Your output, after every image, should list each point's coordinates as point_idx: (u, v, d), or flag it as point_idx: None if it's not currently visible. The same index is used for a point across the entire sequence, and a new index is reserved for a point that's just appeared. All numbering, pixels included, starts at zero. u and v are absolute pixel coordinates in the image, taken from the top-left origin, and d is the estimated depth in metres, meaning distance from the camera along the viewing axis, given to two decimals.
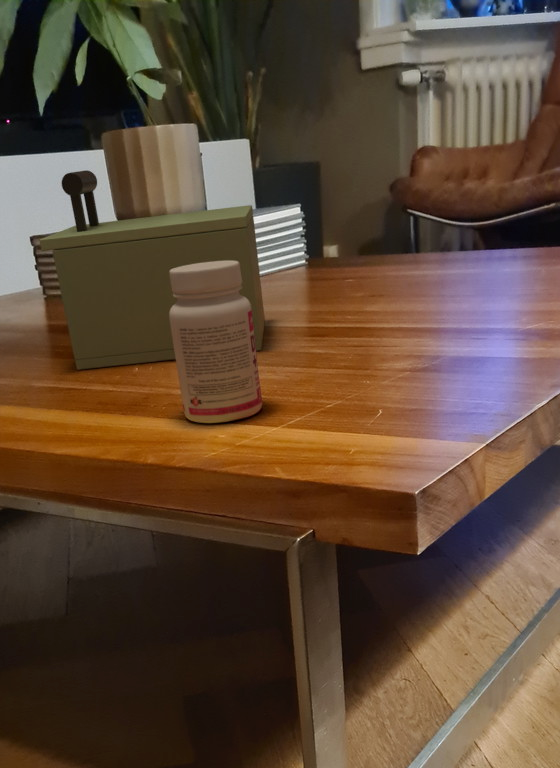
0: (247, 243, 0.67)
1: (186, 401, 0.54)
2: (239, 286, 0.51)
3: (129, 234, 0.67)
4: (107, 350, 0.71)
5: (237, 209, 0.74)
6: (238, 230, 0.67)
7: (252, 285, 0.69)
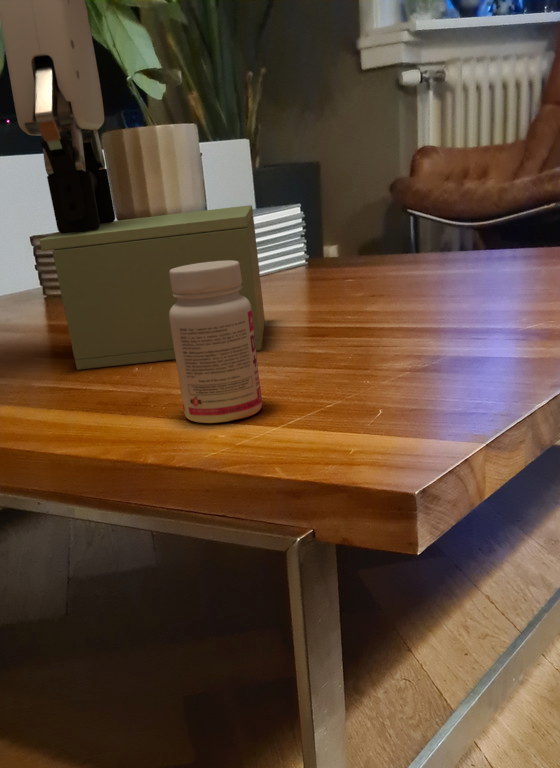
0: (247, 243, 0.67)
1: (186, 401, 0.54)
2: (239, 286, 0.51)
3: (129, 234, 0.67)
4: (107, 350, 0.71)
5: (237, 209, 0.74)
6: (238, 230, 0.67)
7: (252, 285, 0.69)
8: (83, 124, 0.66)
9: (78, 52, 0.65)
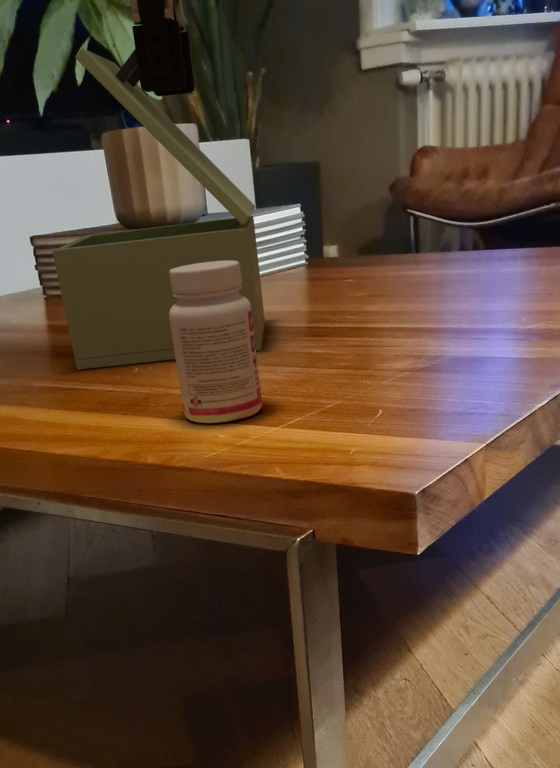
0: (247, 243, 0.67)
1: (186, 401, 0.54)
2: (239, 286, 0.51)
3: (155, 128, 0.64)
4: (107, 350, 0.71)
5: (244, 199, 0.74)
6: (238, 230, 0.67)
7: (252, 285, 0.69)
8: None
9: None
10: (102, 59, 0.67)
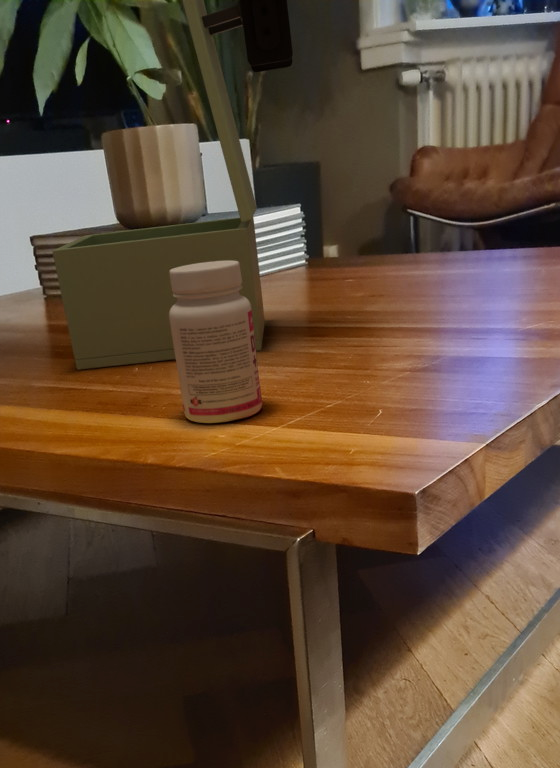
0: (247, 243, 0.67)
1: (186, 401, 0.54)
2: (239, 286, 0.51)
3: (212, 89, 0.63)
4: (107, 350, 0.71)
5: (252, 198, 0.74)
6: (238, 230, 0.67)
7: (252, 285, 0.69)
8: None
9: None
10: None
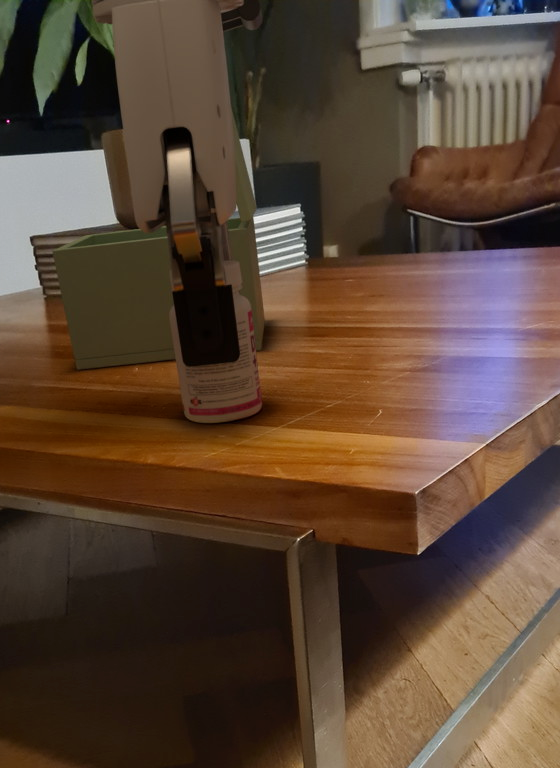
0: (247, 243, 0.67)
1: (186, 401, 0.54)
2: (239, 286, 0.51)
3: None
4: (107, 350, 0.71)
5: (252, 198, 0.74)
6: (238, 230, 0.67)
7: (252, 285, 0.69)
8: (225, 220, 0.47)
9: (224, 121, 0.45)
10: None
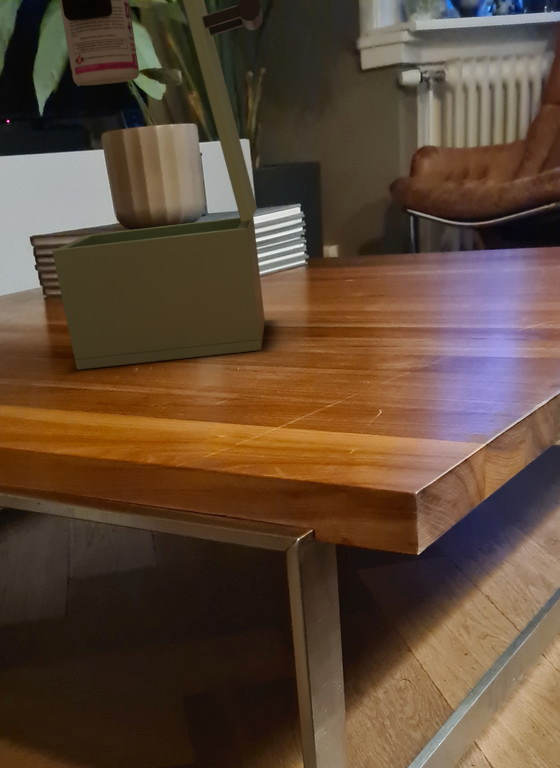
0: (247, 243, 0.67)
1: (72, 63, 0.64)
2: None
3: (212, 89, 0.63)
4: (107, 350, 0.71)
5: (252, 198, 0.74)
6: (238, 230, 0.67)
7: (252, 285, 0.69)
8: None
9: None
10: None
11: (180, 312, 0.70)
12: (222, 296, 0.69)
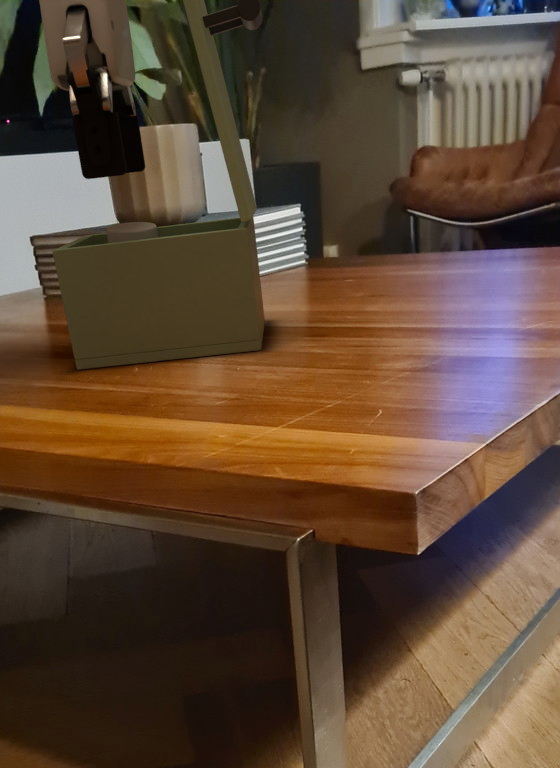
0: (247, 243, 0.67)
1: None
2: None
3: (212, 89, 0.63)
4: (107, 350, 0.71)
5: (252, 198, 0.74)
6: (238, 230, 0.67)
7: (252, 285, 0.69)
8: (117, 78, 0.65)
9: (113, 3, 0.63)
10: None
11: (180, 312, 0.70)
12: (222, 296, 0.69)
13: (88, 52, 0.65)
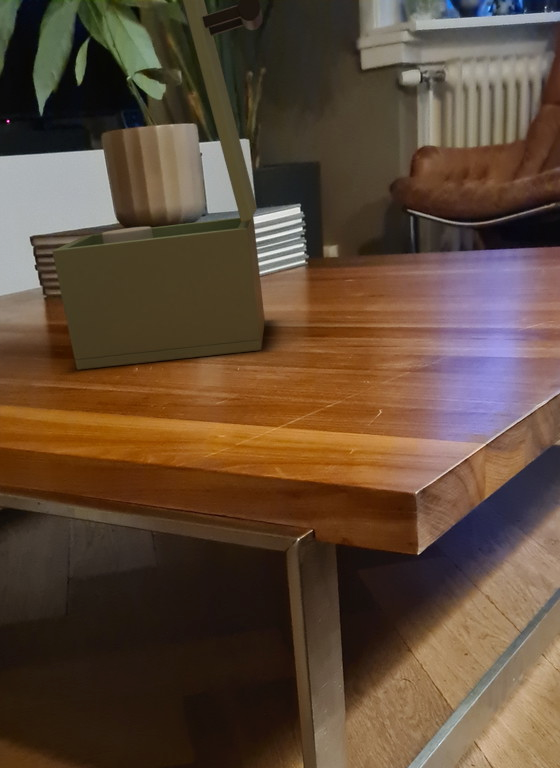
0: (247, 243, 0.67)
1: None
2: None
3: (212, 89, 0.63)
4: (107, 350, 0.71)
5: (252, 198, 0.74)
6: (238, 230, 0.67)
7: (252, 285, 0.69)
8: None
9: None
10: None
11: (180, 312, 0.70)
12: (222, 296, 0.69)
13: None
